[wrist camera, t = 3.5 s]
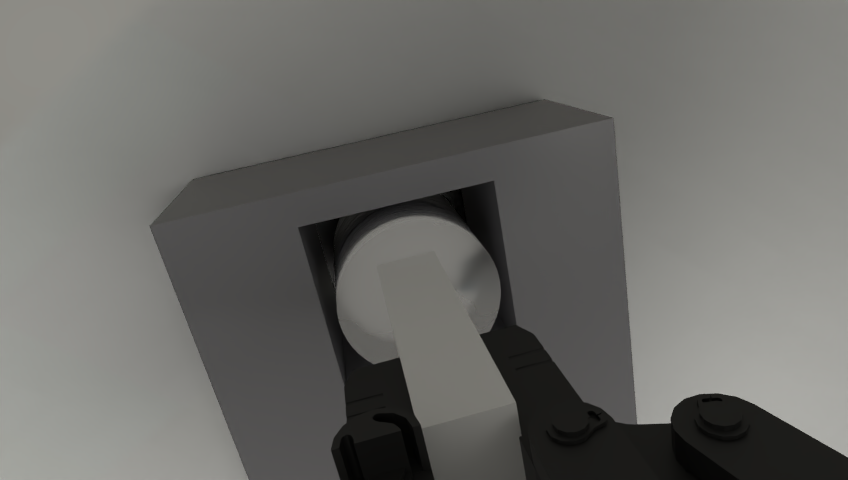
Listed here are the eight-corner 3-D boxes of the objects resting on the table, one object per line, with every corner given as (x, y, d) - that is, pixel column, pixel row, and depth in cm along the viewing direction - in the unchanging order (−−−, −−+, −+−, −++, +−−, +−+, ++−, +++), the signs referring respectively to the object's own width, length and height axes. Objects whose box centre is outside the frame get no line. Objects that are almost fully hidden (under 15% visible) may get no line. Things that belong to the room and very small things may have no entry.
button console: (544, 99, 20) (613, 118, 15) (600, 575, 28) (656, 683, 23) (192, 179, 19) (149, 226, 14) (358, 649, 27) (365, 778, 22)
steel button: (450, 167, 19) (487, 204, 15) (472, 286, 20) (511, 350, 16) (318, 198, 18) (317, 245, 14) (351, 317, 20) (358, 391, 16)
